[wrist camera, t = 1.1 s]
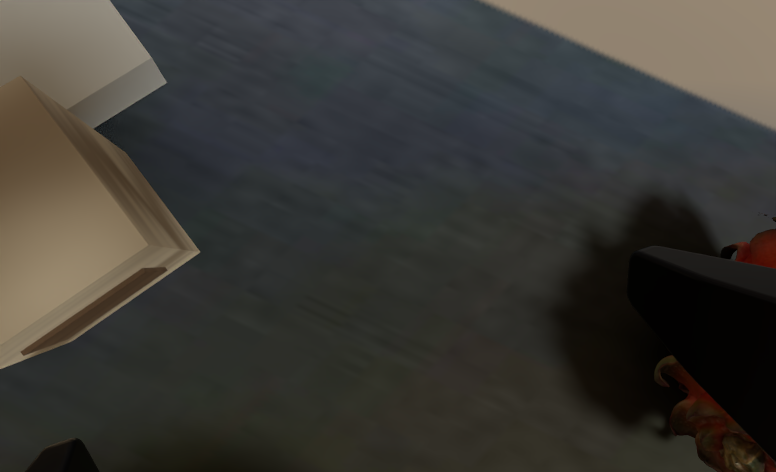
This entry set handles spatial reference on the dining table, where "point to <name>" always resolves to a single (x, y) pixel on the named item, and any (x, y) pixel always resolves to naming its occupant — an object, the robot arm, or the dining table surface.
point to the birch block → (71, 226)
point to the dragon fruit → (700, 411)
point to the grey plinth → (76, 55)
